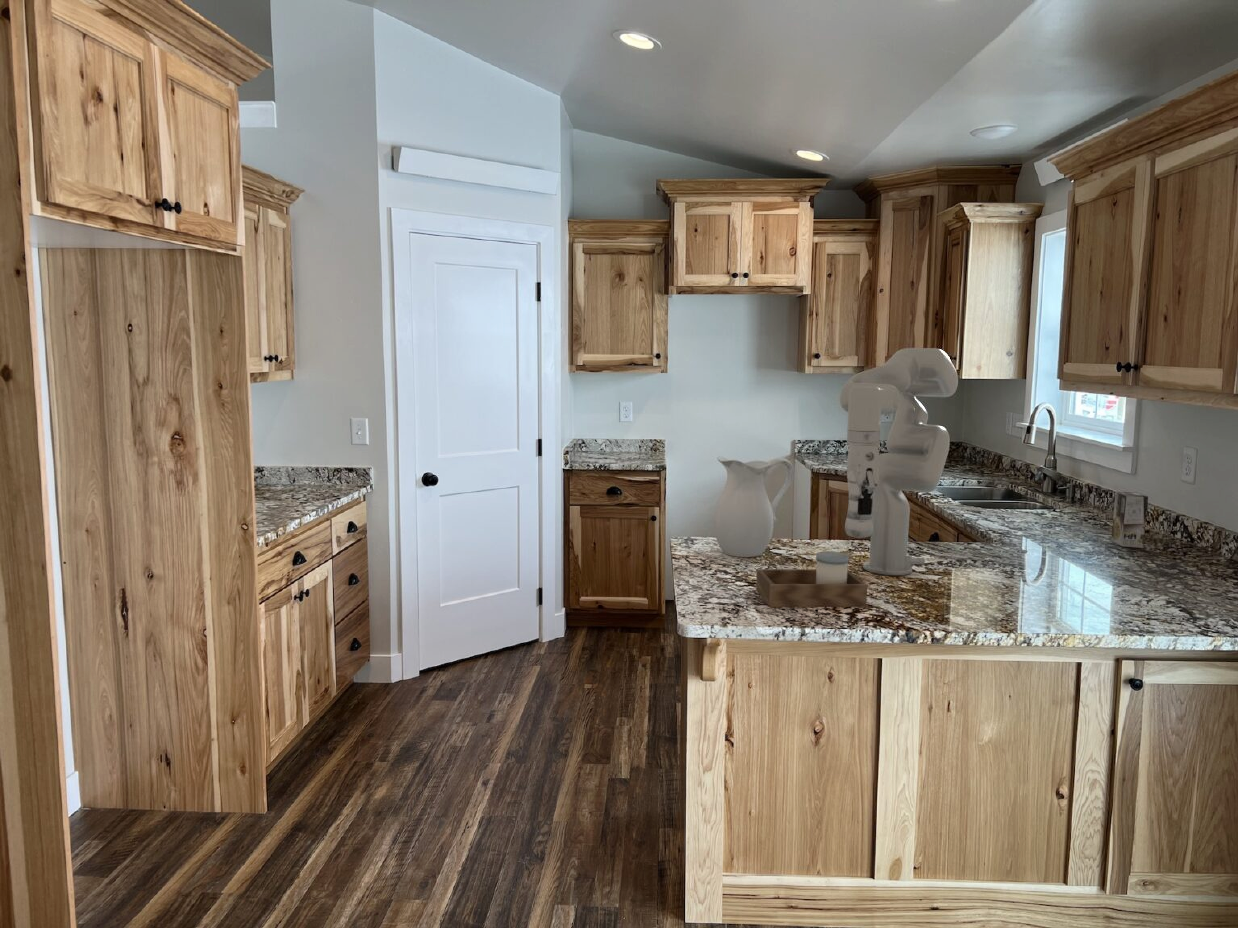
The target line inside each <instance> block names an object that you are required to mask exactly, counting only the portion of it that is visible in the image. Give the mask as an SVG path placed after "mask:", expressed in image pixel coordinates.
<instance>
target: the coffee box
mask: <svg viewBox="0 0 1238 928" xmlns="http://www.w3.org/2000/svg"><path fill="white" fill-rule="evenodd" d="M1148 501H1149V496H1148V495H1145V494H1142V493H1139V492H1136V491H1115V493H1114V504H1113V506H1114V507H1113V515H1112V516H1113V518H1112V530H1111V539H1110V540H1111V542H1113V543H1115V544H1117V545H1118V546H1121V547H1123V548H1125V547H1126V548H1137V549H1138V548H1140V549H1142V548H1144V542H1145V541H1144V540H1145V533H1146V532H1145V530H1146V521H1147V513H1148Z"/></svg>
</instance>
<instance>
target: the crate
mask: <svg viewBox="0 0 1238 928" xmlns="http://www.w3.org/2000/svg"><path fill="white" fill-rule="evenodd" d="M755 579H756V582H755V590H756V592H757V593H758V594H759V595H760V597H761V598H762V599H763V601H764V602H765V603H766V604H767V606H768V607H769V608H867V600H868V599H867V598H868V584H867V583H865V582H864V581H863V580H862V579H860V578H859V577H858V576H856V575H855V574H854V573H852V572H851V571H850V570H849V569H848V570H847V584H816V568H810V569H809V568H795V569H793V568H792V569H791V568H789V569H788V568H787V569H786V568H784V569H783V568H781V569H778V568H777V569H775V568H772V569H771V568H769V569H768V568H765V569H764V568H761V569H760V568H759V569H757V568H756V578H755Z"/></svg>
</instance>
